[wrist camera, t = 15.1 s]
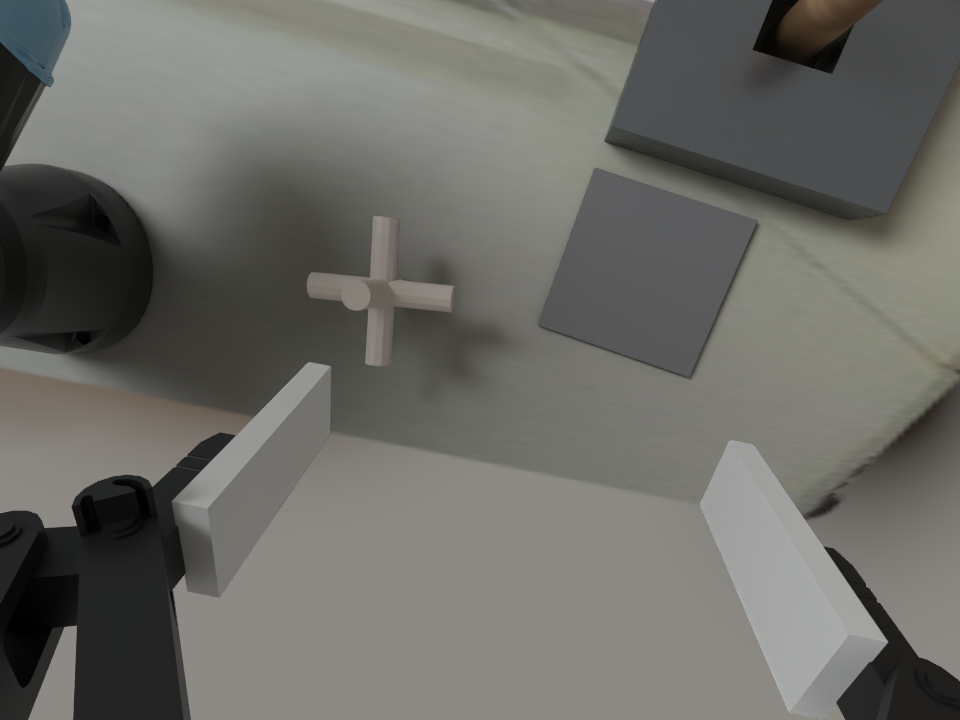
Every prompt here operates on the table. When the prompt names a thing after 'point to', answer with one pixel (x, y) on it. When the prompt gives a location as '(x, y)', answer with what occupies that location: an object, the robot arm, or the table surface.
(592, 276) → the mat
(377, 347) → the pipe connector
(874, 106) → the block with square hole
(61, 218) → the robot arm
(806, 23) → the pin
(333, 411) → the table surface
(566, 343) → the table surface
